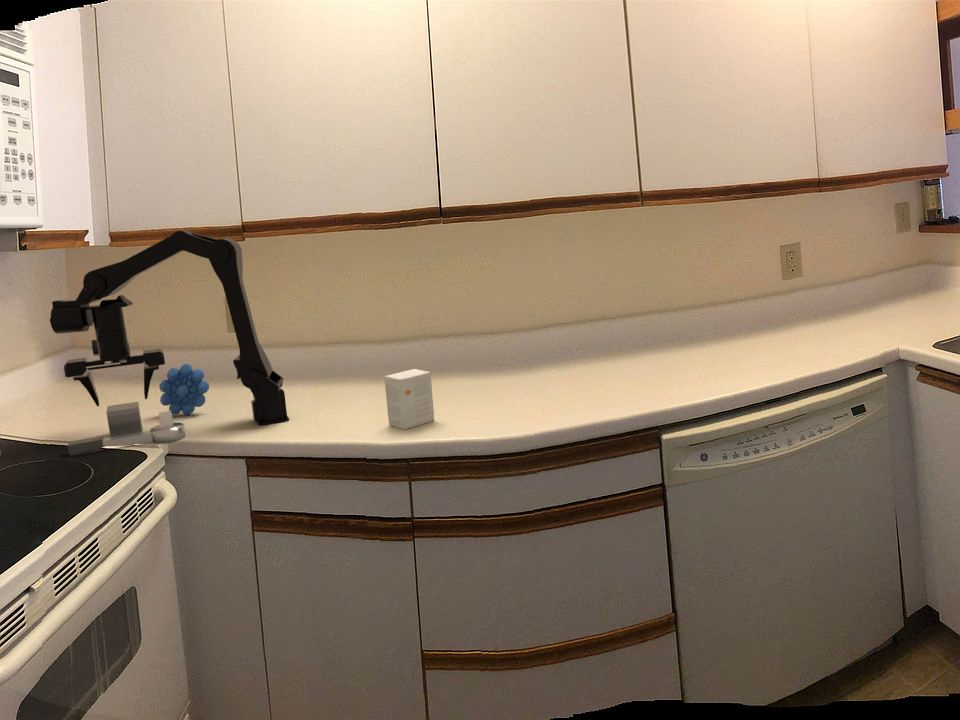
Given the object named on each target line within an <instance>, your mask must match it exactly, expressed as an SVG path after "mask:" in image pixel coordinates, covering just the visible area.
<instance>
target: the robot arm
mask: <svg viewBox="0 0 960 720" xmlns="http://www.w3.org/2000/svg"><path fill="white" fill-rule="evenodd" d="M183 252H186V253H189V254H193V255H194V256H198V257H200V258H205V259H208V261H209V263H210V265H211V267H212V269H213V272H214V273H215V274H216V276H217V278H218V279H219V281H220V283H221V284H222V288H223V291H224V295H225V296H224V297H225V300H226V302H227V306H228V307H227V308H228V310H229V313H230V318H231V322H232V324H233V325H232V326H233V329H234V333H235V338H236V340H237V344H238V349H239V355H237V356H236V357H235V358H234V359H233V360H232V362H233V366H234V367H235V370H236V374H237V376H236V379H237V380H239V379H240V382H241V383H242V385H243V386H244V387H246V388H247V389H249V390H250V392H251V393H252V396H253V399H252V400H250V401H251V402H250V403H251V411H252V412H251V413H252V419H253V420H254V422H256V423H257V425H258V426H262V425H263V426H264V425H267V424H274V423H279V422H285V421H289V420H290V417H289V416H288V412H287V403H286V396H285V395H286V393H285V390H283V388H282V386H283V383H284V377H283V376H281V375H280V374H278V373H277V372H276V371H275V370H273V368H272V364H271V362H270V360H269V358H268V356H267V353H265V351H264V349H263V347H262V346H261V344H260V342H259V339H258V334H257V332H256V327H255V323H254V318H253V315H252V310H251V307H250V303H249V300H248V295H247V293H246V292H247V291H246V289H245V284H244V279H243V278H244V277H243V266H244V265H243V264H244V263H243V251H242V247H241V245H240V244H239V242H237V241H236V240H234V239H232V238H227V237H226V238H218V239H216V238H212V237H210V236H205V235H201V234H197V233H194V232H191V231H189V230H186V229H185V230H176V231H174V232H173V233H172V234H171V235H170V236H167V237H166V238H164V239H162V240H160V241H158V242H156V243H155V244H153V245H150V246H149V247H146V248H145V249H143V250H142V251H140V252H137V253H135V254H133V255H132V256H130V257H128V258H126V259H124V260H122V261H120V262H115V263H112V264H109V265H106V266H102V267H99V268H96V269H93V270H90V271H88V272H87V273H86V274H85V275H84V276H83V282H82V285H83V286H82V288H81V291H80V292H79V294H78V295H77V297H76V299H70V300H66V299H65V300H64V299H59V300H54V301H52V302H51V305H52V308H51V310H50V311H51V312H50V318H49V321H50V322H49V323H50V326H51V329H52V331H53V333H55V334H57V335H59V334H61V335H62V334H70V333H72V334H73V333H82V332H83V333H85V332H88V331H89V329H90V327H92V326H94V327H93V328H94V332H95V338H96V339H92V340H90V341H91V348H92V355H93V356H94V357H95V356H96V357H97V356H98V357H99V359H96V360H89V361H88V358H87V357H81V358H80V357H79V358H73V359H68V360H67V361H66V362H65V363H64V366H63V370H64V375H65V378H73V379H72V380H73V381H79V382H80V383H81V385H82V386H83V387H84V388H85V390H86V391H87V393H89V396H90V397H91V399H92V400H93V402H94V404H95V405H96V407H100V399H99V396H98V393H97V390H96V386H95V384H94V380H93V375H92V371H94V370H101V369H108V368H117V367H125V366H131V365H139V364H143V395H144V399H145V400H148V396H149V391H150V386H151V380H152V378H153V374H154V372H155V371H157V370H158V371H159V369H160V366H162V365H165V364H166V361H165V354H164V351H163V349H161V348H155V349H145V350H143V352H142V354H139V355H138V354H135V355H131V347H130V343H129V341H128V335H127V329H126V323H125V316H124V311H123V308H127V307H130V306H132V305H133V301H132V300H129V299H128V298H126V297H125V296H124V294H120V295H117V297H116V298H113V299H103V298H106V297H111V296H115V295H116V294H117V293H120V291H121V290H124V288H125V287H126V286H128V285H129V284H130V283H131V282H132V281H133V280H134V279H135V278H136V277H138V276H139V275H141V274H143V273H145V272H146V271H148V270H151V269H152V268H154V267H156V266H158V265H159V264H162V263H163V262H166V261H167V260H170V259H172V258H173V257H175V256H177V255H179V254H181V253H183ZM102 299H103V300H102ZM98 301H100V303H99V304H96V305H90V304H92V303H96V302H98ZM108 362H109V363H108Z"/></svg>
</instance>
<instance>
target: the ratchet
mask: <svg viewBox="0 0 960 720" xmlns="http://www.w3.org/2000/svg"><path fill="white" fill-rule="evenodd" d="M158 419H159V424H158V425H155V426H152V427H151V428H150V429H149V430H146V431H142V432H139V433H133V434H126V435H120V436H114V437H110V436H109V437H108V436H107V437H104V436H102V435H101V436H96V437H88V438H87V437H86V438H81V439H75V440H71V441H70V440H69V441H68V443H67V450H68V455H70V454H74V453H78V452H83V451H87V450H92V449H100V448H102V447H105V446H119V445H121V446H122V445H134V444H143V445H147V444H148V443H149V444H153V443H154V444H170V443H174V442H178V441H181V440H183V439H185V438H186V431H185V424H184V423H183V422H173V414H171V411H169V410H167V411H160V412H158ZM184 437H185V438H184Z"/></svg>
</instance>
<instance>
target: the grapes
mask: <svg viewBox="0 0 960 720" xmlns="http://www.w3.org/2000/svg"><path fill="white" fill-rule="evenodd" d="M193 369H194V368H193V366H192V364H190V363H184V364H183V365H181V367H180V368H179V369H178V368H175V367H172V368H170V369H169V370H168V372H167V373H166V377H167V379H166V378H165V379H164V380H163V379H162V381H161V382H160V383H159V387H158V388H159V390H160V392H161V393H162V395H161V397H160V398H159V399H160V401H159V402H160V404H161V405H162V406H167V407H168V406H169V407H168V411H171V414H172V415H179V414H180V413H182V414H183V415H185V416H190V415H192V414H193V413H194V411H195V410H196V409H195V408H200V407H202V406H203V405H204V404H205V403H206V396H205V395H204V394H207V392H208V391H209V390H210V384H209V382H207V380H203V379H204V378H205V372H204V370H202V369H201V368H195V369H194V370H193Z"/></svg>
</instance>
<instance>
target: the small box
mask: <svg viewBox="0 0 960 720" xmlns="http://www.w3.org/2000/svg"><path fill="white" fill-rule="evenodd" d="M383 379H384V388H385V399H386V408H387V419H388V425H389V426H390V427H394V428H397V429H401V430H408V428H409V429H411V427H412V428H414V426H415V427H419V426H421V425H424V423H425V424H427V422H428V423H430V422H434V421H435V413H434V411H435V409H434V399H433V388H432V387H433V385H432V375H431V372H430V371H426V370H421V369H417V368H413V369H412V368H411V369H409V370H404V371H400V372H395V373H393V374H389V375H385V376H384V377H383Z"/></svg>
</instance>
